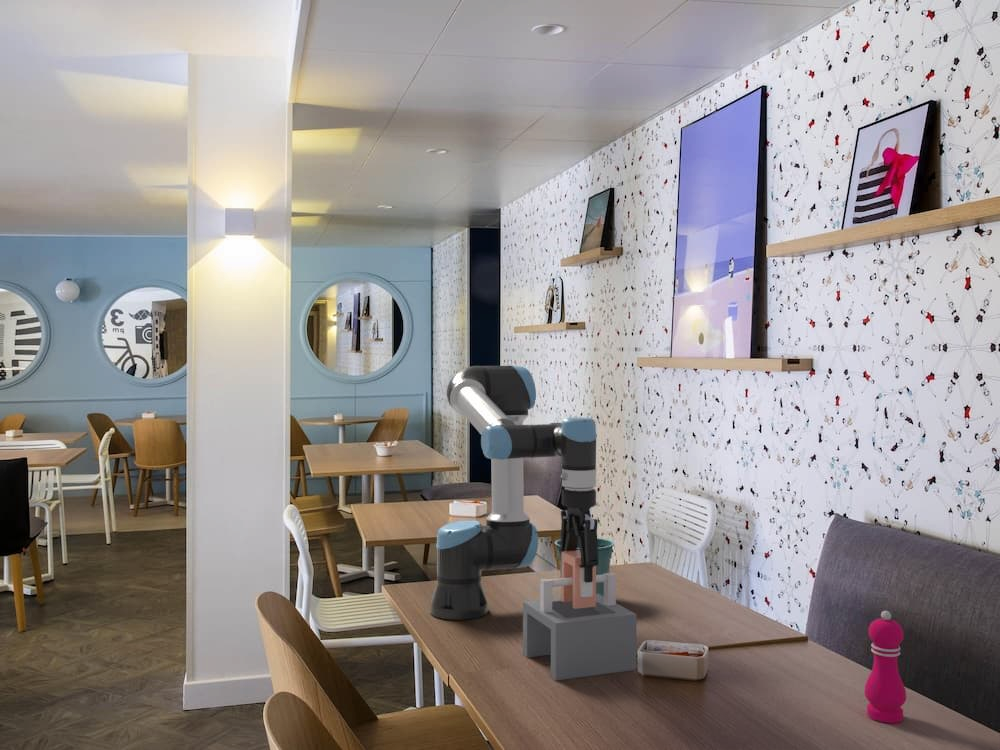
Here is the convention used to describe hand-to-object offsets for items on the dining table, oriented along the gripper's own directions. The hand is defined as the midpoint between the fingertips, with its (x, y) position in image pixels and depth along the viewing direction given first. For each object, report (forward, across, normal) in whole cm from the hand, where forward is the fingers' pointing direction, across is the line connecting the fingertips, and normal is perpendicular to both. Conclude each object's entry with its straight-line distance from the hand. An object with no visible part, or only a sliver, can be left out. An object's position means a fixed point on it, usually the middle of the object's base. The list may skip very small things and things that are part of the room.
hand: (578, 591), depth 202 cm
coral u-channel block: (+3, 0, 0) cm, 3 cm away
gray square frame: (+15, 0, 0) cm, 15 cm away
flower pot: (+16, -45, +24) cm, 53 cm away
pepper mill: (+16, +48, +40) cm, 65 cm away
